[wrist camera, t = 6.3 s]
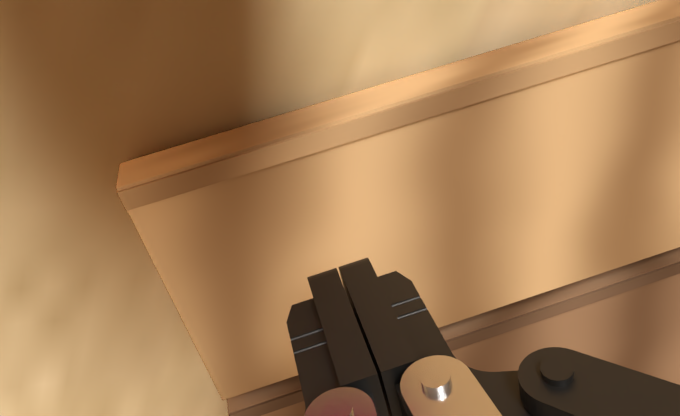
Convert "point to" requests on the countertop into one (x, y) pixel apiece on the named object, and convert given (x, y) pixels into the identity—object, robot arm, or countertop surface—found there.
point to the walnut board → (551, 330)
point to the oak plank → (423, 188)
